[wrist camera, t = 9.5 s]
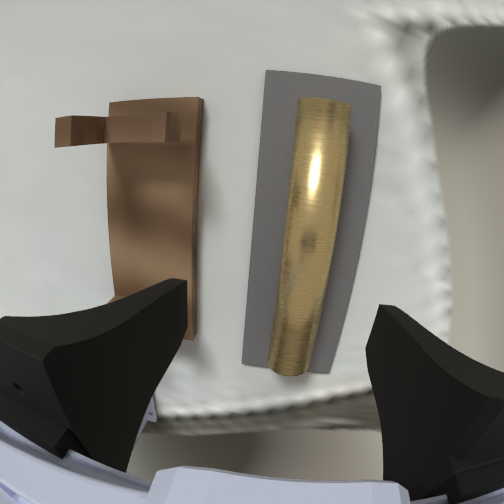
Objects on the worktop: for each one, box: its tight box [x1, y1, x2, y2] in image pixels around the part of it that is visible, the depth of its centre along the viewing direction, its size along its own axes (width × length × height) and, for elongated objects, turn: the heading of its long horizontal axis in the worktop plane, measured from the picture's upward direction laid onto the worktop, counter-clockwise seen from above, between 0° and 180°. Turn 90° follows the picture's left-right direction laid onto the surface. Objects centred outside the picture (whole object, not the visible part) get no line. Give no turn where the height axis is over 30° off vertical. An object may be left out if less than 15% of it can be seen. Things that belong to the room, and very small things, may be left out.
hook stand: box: [55, 97, 203, 341], centre depth 18 cm, size 17×6×6 cm, turn 175°
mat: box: [242, 70, 381, 373], centre depth 19 cm, size 21×7×1 cm, turn 175°
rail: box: [267, 97, 352, 376], centre depth 18 cm, size 17×3×3 cm, turn 175°
